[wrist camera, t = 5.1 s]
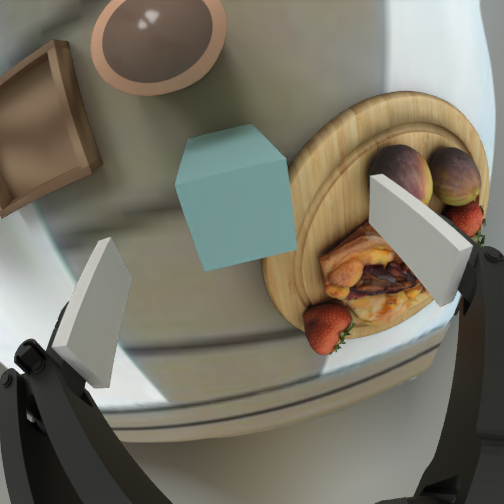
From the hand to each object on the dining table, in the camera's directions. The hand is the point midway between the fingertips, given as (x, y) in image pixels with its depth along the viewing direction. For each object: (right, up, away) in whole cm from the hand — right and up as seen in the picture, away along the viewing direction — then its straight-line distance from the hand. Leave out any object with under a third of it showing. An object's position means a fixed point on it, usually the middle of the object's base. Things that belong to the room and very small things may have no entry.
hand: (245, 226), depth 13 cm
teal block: (-2, +6, +8) cm, 10 cm away
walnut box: (-18, +9, +3) cm, 21 cm away
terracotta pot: (-5, +13, +2) cm, 15 cm away
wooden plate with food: (+17, +1, +16) cm, 23 cm away
